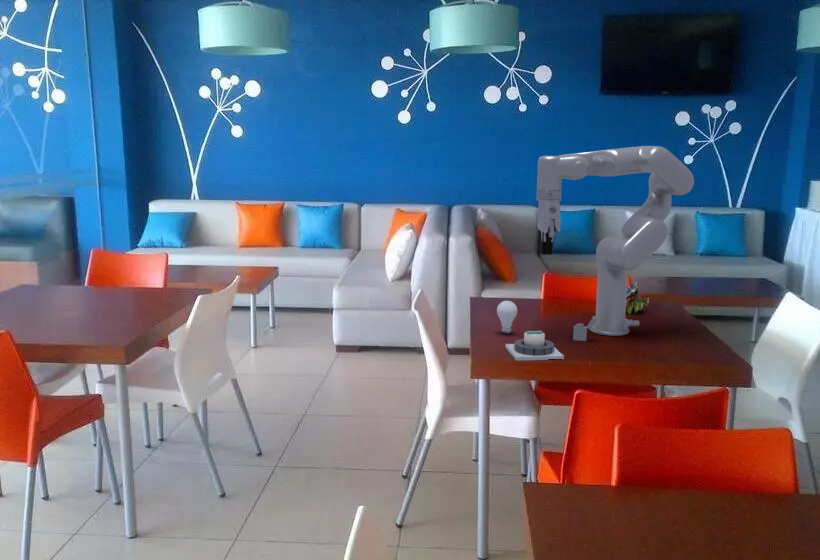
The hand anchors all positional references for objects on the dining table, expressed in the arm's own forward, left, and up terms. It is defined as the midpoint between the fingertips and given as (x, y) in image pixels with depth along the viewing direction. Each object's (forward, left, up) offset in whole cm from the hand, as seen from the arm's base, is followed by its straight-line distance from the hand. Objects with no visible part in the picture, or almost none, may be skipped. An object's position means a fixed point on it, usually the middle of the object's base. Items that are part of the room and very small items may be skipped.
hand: (546, 254), depth 232 cm
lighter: (-12, +5, -27) cm, 30 cm away
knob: (+8, +18, -26) cm, 33 cm away
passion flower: (-43, -34, -27) cm, 61 cm away
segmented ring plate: (+8, +18, -27) cm, 34 cm away
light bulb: (+11, -5, -27) cm, 30 cm away
